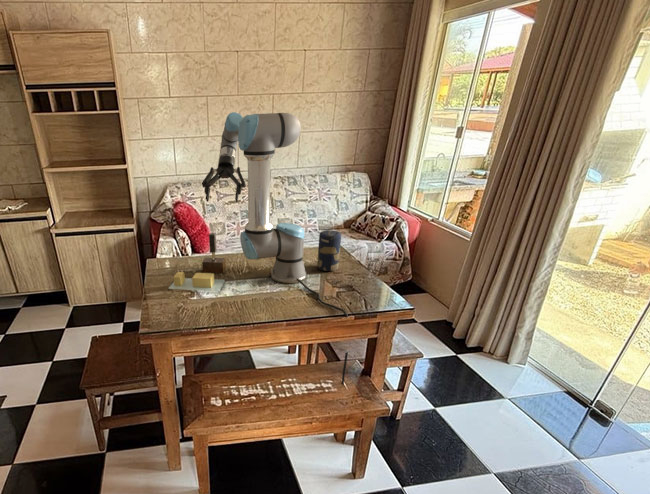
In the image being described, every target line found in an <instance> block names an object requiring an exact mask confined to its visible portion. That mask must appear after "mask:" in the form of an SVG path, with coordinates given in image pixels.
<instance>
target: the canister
mask: <svg viewBox="0 0 650 494" xmlns="http://www.w3.org/2000/svg"><path fill="white" fill-rule="evenodd" d="M341 244H342V233H341V232H340V231H338V230H333V229H328V230H322V231H320V232H319V236H318V250H317V261H316V262H317V263H316V266H317V269H318V270H320V271H324V272H334V271H336V270H338V269H339V264H340V255H341Z"/></svg>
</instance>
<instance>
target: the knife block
mask: <svg viewBox="0 0 650 494" xmlns="http://www.w3.org/2000/svg"><path fill="white" fill-rule="evenodd" d="M226 263H227V262H226V257H215V262H212V257H204V258H203V260H202V261H201V264H202V273H212V274H224V273H225V271H226V269H227V265H226Z"/></svg>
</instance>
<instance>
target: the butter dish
mask: <svg viewBox="0 0 650 494" xmlns="http://www.w3.org/2000/svg"><path fill="white" fill-rule="evenodd" d="M192 278H193V277H191V278H189V277H185V282H184V283H183V284H182V286H174V281H173V282H172V283H171V284H170V286H168V290H185V291H203V292H205V291H206V292H220V290H221V288H222V287H223V285H224V283H225V279H215V278H214V284H213V285H212V287H211V288H207V287H193V282H192Z"/></svg>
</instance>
